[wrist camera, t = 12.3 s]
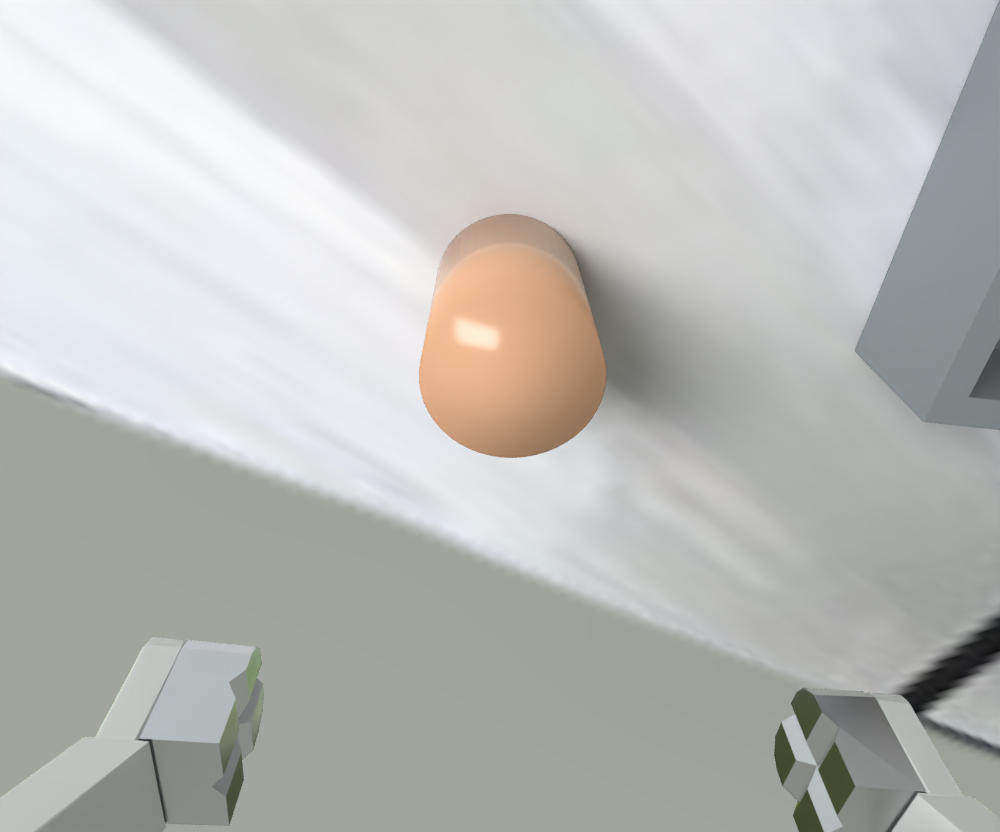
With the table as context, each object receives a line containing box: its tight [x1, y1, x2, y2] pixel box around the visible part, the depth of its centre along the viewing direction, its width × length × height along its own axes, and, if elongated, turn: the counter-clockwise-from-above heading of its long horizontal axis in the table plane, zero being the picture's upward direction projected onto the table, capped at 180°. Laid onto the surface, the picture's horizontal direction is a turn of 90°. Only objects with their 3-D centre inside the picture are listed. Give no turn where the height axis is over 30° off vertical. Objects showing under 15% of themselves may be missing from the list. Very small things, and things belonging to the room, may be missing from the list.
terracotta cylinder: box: [419, 214, 606, 458], centre depth 22 cm, size 5×5×7 cm
